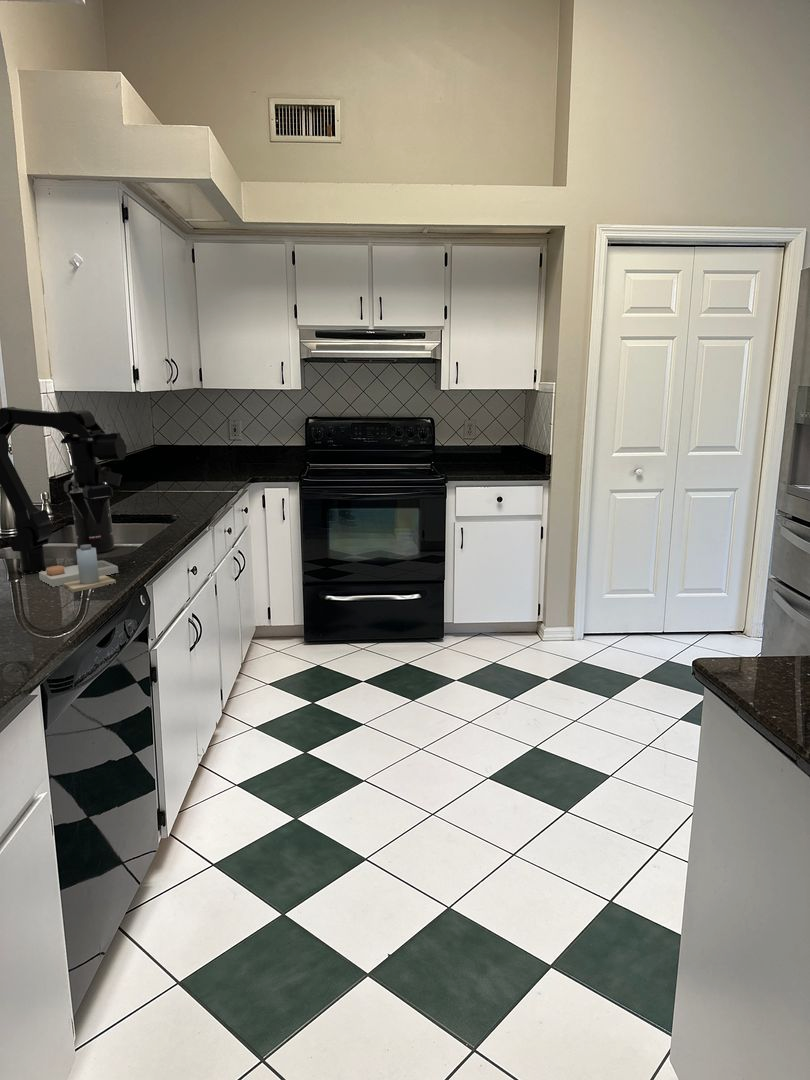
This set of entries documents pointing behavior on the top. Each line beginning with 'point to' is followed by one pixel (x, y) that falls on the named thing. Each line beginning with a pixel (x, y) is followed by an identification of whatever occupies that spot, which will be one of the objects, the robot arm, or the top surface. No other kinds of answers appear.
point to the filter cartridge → (87, 564)
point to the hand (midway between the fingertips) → (91, 521)
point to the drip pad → (77, 586)
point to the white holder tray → (76, 573)
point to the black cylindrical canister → (94, 529)
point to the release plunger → (55, 570)
